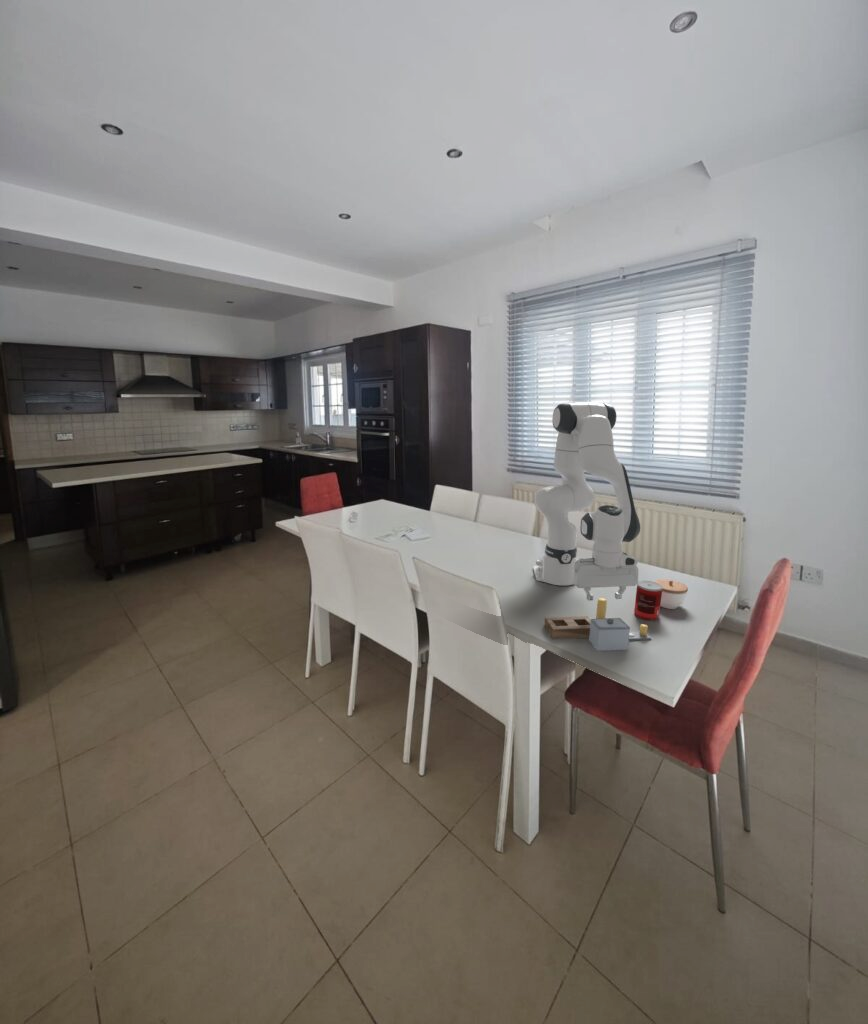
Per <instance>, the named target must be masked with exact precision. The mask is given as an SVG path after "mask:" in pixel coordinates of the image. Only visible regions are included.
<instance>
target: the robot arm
mask: <svg viewBox="0 0 868 1024" xmlns="http://www.w3.org/2000/svg"><path fill="white" fill-rule="evenodd" d="M551 421H552V426H553V427H552V428H554V430H555V431H556V432H558V435H557V438H556V443H555V444H556V445H555V449H554V450H555V452H554V461H553V468H554V471H555V472H556V473H557V474H558V475H560V476H561V478H562V479H561V480H562V483H561V484H557V485H548V486H546V487H543V488H540V489H539V490H538V489H537V492H536V493H535V495H534V505H535V508H536V509H537V511H538V512H540V513H541V514H542V516H543V517H544V518H545V522H546V525H547V542H546V546H545V548H544V549H545V550H544V552H543V554H542V555H540V556H539V558H538V559H537V560H536V562H535V563H536V564H535V565H534V566H532V571H533V573H534V577H535V580H536V581H538V582H544V583H547V584H550V585H554V586H572V585H574V586H575V587H576V588H577V589H583V590H584V592H585V593H586V600H587V601H593V600H594V594H592V593H591V592H590V591H591V590H592V588H593V589H594V588H595V589H596V588H614V587H619V588H618V590H617V591H616V592H614V599H616V600H622V599H623V597H622V596H623V594H624V593H625V592H626V589H627V587H635V586H637V584H638V582H639V568H638V566H637V565H638V562H639V561H638V559H637V558H636V557H635V556H633V555H631V554H630V553H627V552H624V550H623V549H624V548H623V542H624V543H625V542H626V543H630V542H632V541H633V540H635V539H636V538H637V537H638V536H639V535H640V532H641V523H640V519H639V516H638V512H637V511H636V507H635V502H634V498H633V494H632V489H631V484H630V480H629V476H628V473H627V469H626V467H625V465H624V464H623V463H621V462H620V461H619V460H618V457H617V456H616V454H615V449H614V448H615V446H614V437H613V428H614V427H615V425H616V423H617V411H616V408H615V407H614V406H613V405H611V404H609V403H604V402H603V403H600V402H599V403H598V402H592V401H584V402H562V403H559V404H558V405H557V406H555V408H554V410H553V413H552V419H551ZM585 471H586V473H588V474H590V475H592V476H594V477H596V478H599V479H602V480H603V481H606V482H608V483H610V485H611V486H612V487H613V489H614V493H615V497H616V498H615V499H616V501H617V506H614V505H609V504H608V505H605V504H604V505H601V506H599V507H597V509H596V510H595V511H589V512H587V513H585V514H584V515H583V517H582V518H581V519H580V527H579V528H580V534H581V536H583V538H585V539H586V540H587V541H591V542H592V541H593V545H592V553H591V554H592V555H591V556H592V557H591V558H580V559H578V558H577V553H578V548H577V535H578V528H577V527H576V525H575V524H573V523H572V522H571V521H570V520H569V513H574V512H581V511H584V510H587V509H589V508H590V507H592V506H593V504H594V502H595V496H596V495H595V493H594V490H593V488H592V487H591V486H590V485H589V483H588V482H587V480H586V479H587V478H586V476H585Z"/></svg>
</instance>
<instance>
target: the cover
mask: <svg viewBox="0 0 868 1024" xmlns="http://www.w3.org/2000/svg"><path fill="white" fill-rule="evenodd" d="M590 619H591V623H590V635H589V637H588V641H589V642H590V643H591V645H592V646H593V647H594V649H596V651H597V652H601V651H621V650H622V651H623V650H629V649H628V647H629V632H631V631H630V630H631V627H630V626H629V625H628V624H627V623H626V622H625V621H624V620H623V619H622V618H621V617H614V618H613V617H611V618H609V617H607V618H606V617H605V618H604V619H596V618H590Z"/></svg>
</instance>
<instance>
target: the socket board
mask: <svg viewBox="0 0 868 1024" xmlns="http://www.w3.org/2000/svg"><path fill="white" fill-rule="evenodd" d="M591 619H592V618H590V617H589V616H588V615H581V616H580V615H578V616H557V617H556V616H552V617H551V616H548V617H544V624H543V625H544V628H545V630H546V631H547V633H548V634H549V635H550V637H551V638H552V639H553V640H554V639H571V638H575V639H576V638H589V635H590V623H591Z"/></svg>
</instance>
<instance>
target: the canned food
mask: <svg viewBox="0 0 868 1024" xmlns="http://www.w3.org/2000/svg"><path fill="white" fill-rule="evenodd" d="M661 597H662V585H660V584H658V583H656V582H655V581H652V580H640V581H639V580H638V583H637V584H636V592H635V601H634V610H633V611H634V615H635V616H636V617H638V618H639V619H641V620H645V621H646V620H647V621H655V620H656V621H657V619H659V616H660V611H661V606H660V604H661Z"/></svg>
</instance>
